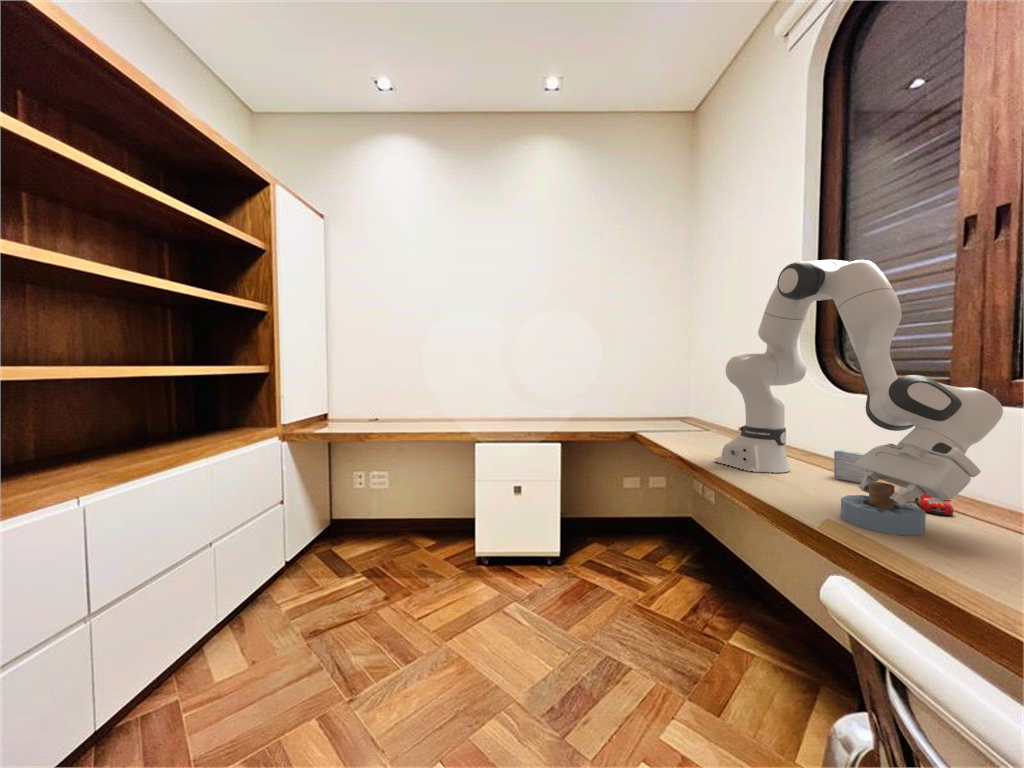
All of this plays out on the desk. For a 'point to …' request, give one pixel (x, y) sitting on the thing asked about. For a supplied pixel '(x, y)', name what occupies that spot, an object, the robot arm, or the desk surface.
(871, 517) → the bead
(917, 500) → the race car
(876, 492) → the dowel
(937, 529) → the desk surface
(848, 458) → the grey ridged block
